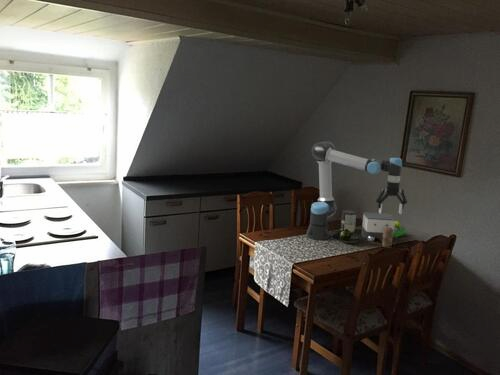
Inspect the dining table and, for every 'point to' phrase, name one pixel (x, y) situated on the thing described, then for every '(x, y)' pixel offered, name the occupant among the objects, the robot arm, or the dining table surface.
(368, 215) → the cabinet
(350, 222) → the clear glass jar
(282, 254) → the dining table surface
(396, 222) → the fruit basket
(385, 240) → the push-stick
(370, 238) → the steel puck
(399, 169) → the robot arm
